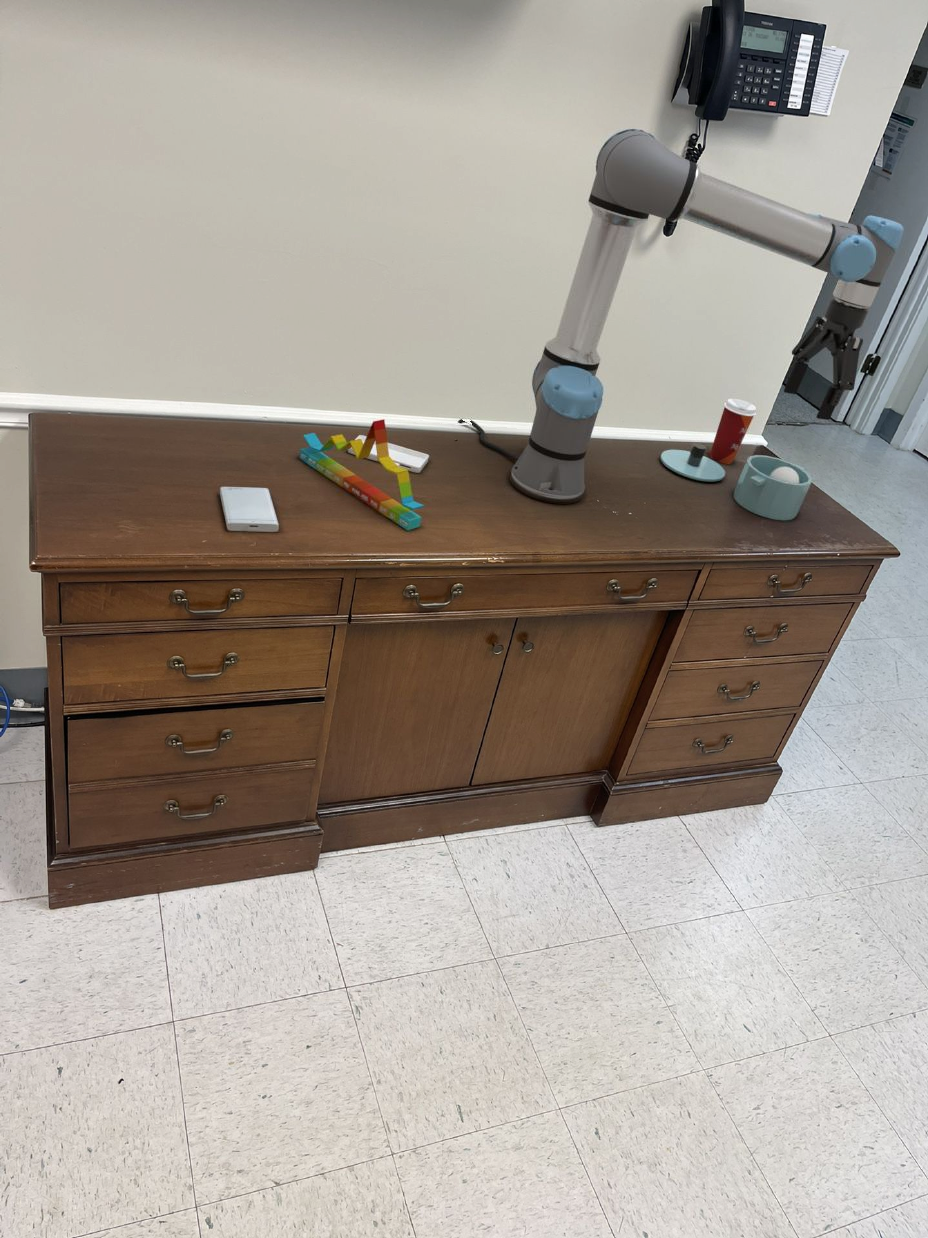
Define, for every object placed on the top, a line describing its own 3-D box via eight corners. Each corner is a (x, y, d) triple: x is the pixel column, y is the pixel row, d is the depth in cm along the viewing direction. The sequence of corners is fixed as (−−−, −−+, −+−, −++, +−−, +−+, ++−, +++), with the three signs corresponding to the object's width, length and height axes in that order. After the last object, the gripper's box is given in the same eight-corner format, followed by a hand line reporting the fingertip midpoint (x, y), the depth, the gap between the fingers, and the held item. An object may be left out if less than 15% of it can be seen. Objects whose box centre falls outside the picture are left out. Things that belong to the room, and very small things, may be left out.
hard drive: (220, 486, 156) (227, 522, 146) (268, 487, 159) (279, 523, 149) (219, 494, 157) (227, 531, 147) (268, 496, 160) (278, 532, 150)
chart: (298, 458, 174) (306, 383, 166) (311, 455, 176) (320, 381, 168) (406, 530, 159) (421, 452, 151) (419, 526, 161) (434, 448, 153)
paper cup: (737, 468, 218) (759, 413, 210) (705, 460, 218) (726, 404, 211) (735, 456, 224) (756, 402, 217) (705, 448, 225) (725, 394, 217)
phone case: (428, 460, 186) (359, 440, 187) (429, 454, 185) (360, 434, 186) (418, 473, 179) (346, 452, 181) (419, 467, 179) (347, 446, 180)
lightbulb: (744, 494, 202) (775, 477, 192) (757, 473, 204) (788, 456, 194) (765, 512, 203) (797, 496, 193) (778, 491, 205) (810, 475, 195)
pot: (714, 497, 200) (728, 461, 196) (760, 483, 213) (774, 449, 208) (768, 527, 192) (784, 491, 188) (813, 511, 205) (829, 477, 200)
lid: (646, 459, 211) (654, 436, 208) (684, 450, 221) (692, 428, 218) (699, 488, 203) (708, 465, 200) (735, 478, 212) (744, 455, 209)
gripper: (903, 326, 170) (853, 432, 181) (833, 287, 189) (791, 384, 201) (870, 320, 168) (821, 427, 179) (802, 281, 187) (762, 380, 199)
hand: (805, 405), depth 190 cm, fingers open, 13 cm apart
